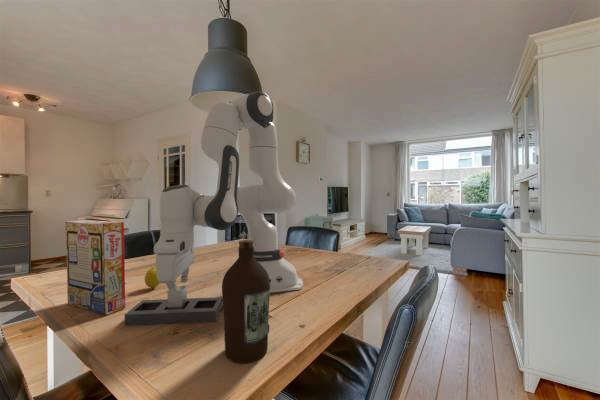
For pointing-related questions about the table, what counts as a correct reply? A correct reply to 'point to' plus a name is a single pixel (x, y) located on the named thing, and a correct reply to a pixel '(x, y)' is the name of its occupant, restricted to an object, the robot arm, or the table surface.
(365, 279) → the table surface
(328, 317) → the table surface
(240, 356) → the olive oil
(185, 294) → the steel peg
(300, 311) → the table surface
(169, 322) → the grey compartment tray
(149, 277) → the lemon
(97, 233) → the cereal box
